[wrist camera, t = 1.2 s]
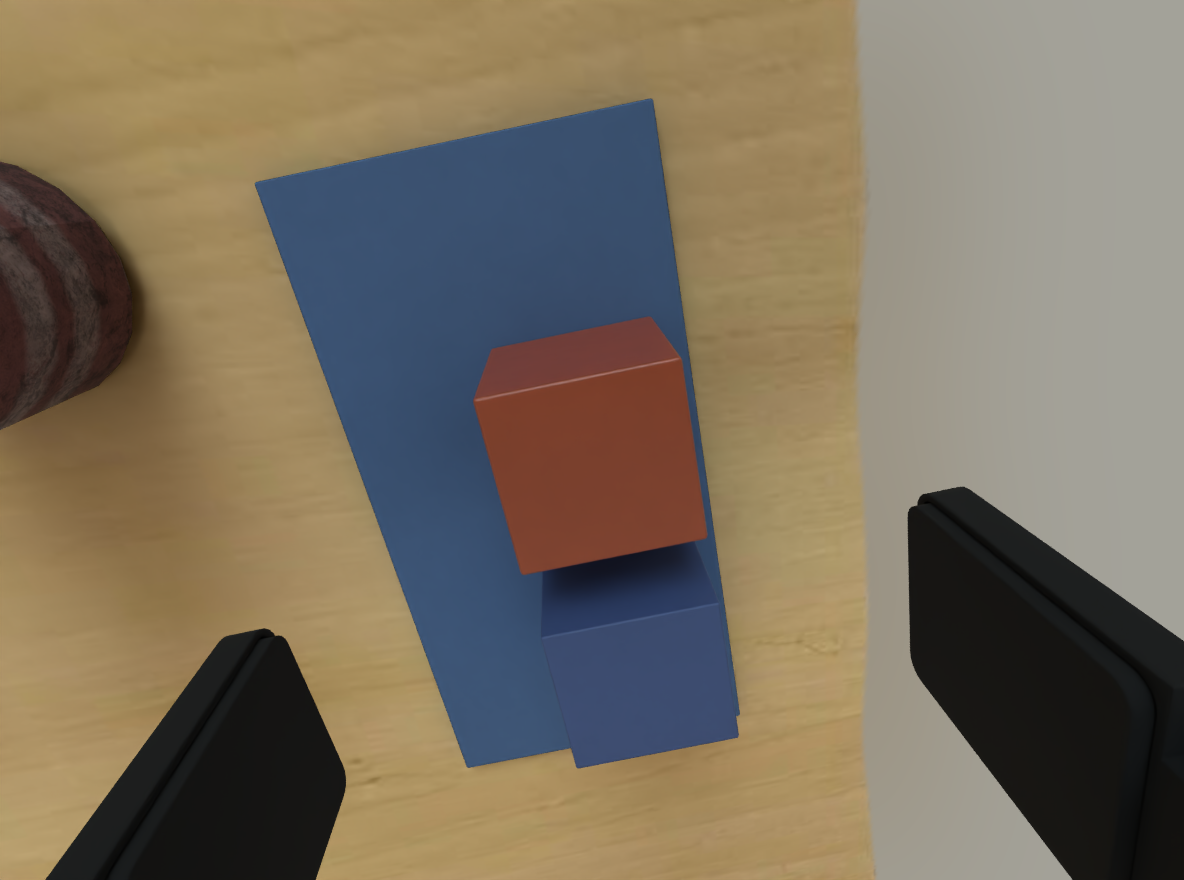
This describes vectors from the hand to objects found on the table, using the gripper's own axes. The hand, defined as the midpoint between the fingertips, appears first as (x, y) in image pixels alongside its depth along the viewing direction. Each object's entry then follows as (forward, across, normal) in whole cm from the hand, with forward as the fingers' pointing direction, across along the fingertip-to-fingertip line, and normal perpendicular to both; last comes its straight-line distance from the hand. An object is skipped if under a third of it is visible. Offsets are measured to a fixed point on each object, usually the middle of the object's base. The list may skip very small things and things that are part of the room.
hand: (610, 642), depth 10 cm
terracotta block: (+10, 0, 0) cm, 10 cm away
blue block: (+10, 0, +6) cm, 12 cm away
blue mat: (+10, +2, +2) cm, 11 cm away
